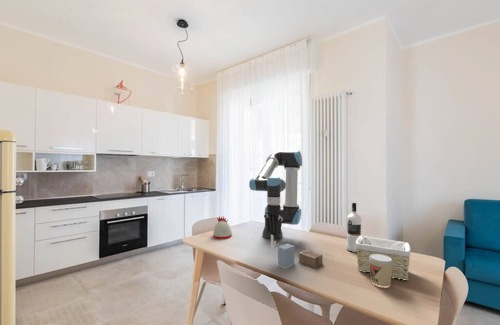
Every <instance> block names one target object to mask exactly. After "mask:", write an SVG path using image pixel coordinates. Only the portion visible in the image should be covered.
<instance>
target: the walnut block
mask: <svg viewBox="0 0 500 325" xmlns="http://www.w3.org/2000/svg"><path fill="white" fill-rule="evenodd" d="M298 263H300V264H303V265H306V266H307V267H312V268H313V269H314V268H317V267H319V266H320V264H321V265H323V254H322V253H318V252H315V251H312V250H308V249H305V250H302V251H300V252H298Z"/></svg>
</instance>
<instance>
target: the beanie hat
mask: <svg viewBox="0 0 500 325" xmlns="http://www.w3.org/2000/svg"><path fill="white" fill-rule="evenodd" d="M216 219H217V221H218V222H217V224H216V225H215V226H214V229H213V234H212V235H213V236H212V237H213V238H214V239H217V240H226V239H231V238H232V237H233V233H232V232H233V231H232V229H231V226H230V224H229V222H228V221H229V219H227V217H225V216H220V215H219V217H217V218H216ZM226 219H227V220H226Z"/></svg>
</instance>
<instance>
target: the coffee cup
mask: <svg viewBox="0 0 500 325" xmlns="http://www.w3.org/2000/svg"><path fill="white" fill-rule="evenodd" d="M369 259H370V273H369V274H370V282H371V281H372V282H373V283H375V284H377V285H381V286H389V285H390V286H391V285H392V284H391V282H392V278H391V273H392V263H393V261H392V259H391V258H390V257H388V256H385V255H381V254H371V255H370V257H369Z"/></svg>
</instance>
